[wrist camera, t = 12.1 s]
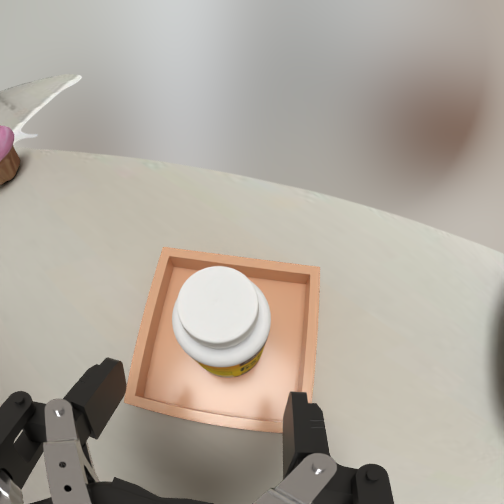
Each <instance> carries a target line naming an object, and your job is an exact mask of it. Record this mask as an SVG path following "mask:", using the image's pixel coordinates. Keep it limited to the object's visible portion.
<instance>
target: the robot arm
mask: <svg viewBox="0 0 504 504" xmlns="http://www.w3.org/2000/svg"><path fill="white" fill-rule="evenodd" d="M125 392H126V380H125V374H124V369H123V364H122V362H121V361H118V360H115V359H111V358H106V359H105V360H104V361H103V362H102V363H101V364H100V365H98V364H96V365H94V366H93V367H91V368H89V369H88V370H87V371H86V372H85V373H84V375H83V376H82V377H81V378H80V379H79V381H78V382H77V383H76V384H75V385H74V386H73V387H72V389H71V390H70V391H69V392H68V393H67V395H66V396H65V397H64V398H63V399H54V400H51V401H49V402H48V403H47V404H43V403H38V402H33V401H32V398H31V396H30V395H29V394H28V393H26V392H23V391H18V392H15V393H13V394H11V395H10V396H9V398H8V399H7V400H6V401H5V402H4V403H3V404H2V406H1V407H0V504H24V502H23V495H22V491H21V489H22V487H23V486H24V484H25V482H26V480H27V479H28V477H29V475H30V473H31V472H32V470H33V468H34V467H35V465H36V463H37V462H38V460H39V458H40V457H41V455H42V453H43V452H44V457H45V464H46V471H47V477H48V482H49V488H50V492H51V498H47V499H44V500H41V501H37V502H34V503H30V504H213V503H207V502H202V501H197V500H192V499H178V498H161V497H158V496H156V495H154V494H152V493H150V492H149V491H147V490H145V489H143V488H141V487H140V486H138V485H135V484H133V483H130V482H127V481H124V480H121V479H118V478H116V477H114V479H113V481H112V482H100V481H99V479H98V477H97V475H96V472H95V469H94V465H93V462H92V458H91V455H90V451H89V447H88V443H87V439H88V437H89V436H90V437H92V438H95V439H98V437H99V436H100V434H101V432H102V431H103V429H104V427H105V426H106V424H107V423H108V421H109V419H110V418H111V416H112V414H113V413H114V411H115V410H116V408H117V406H118V405H119V403H120V401H121V400H122V398H123V397H124V395H125ZM21 430H23V432H22V433H21V434H20V436H19V437H18V439H17V440H16V442H15V443H14V440H15V438H16V437H17V435H18V434H19V433H20V431H21ZM252 504H394V501H393V496H392V491H391V486H390V482H389V477H388V473H387V471H386V470H385V469H384V468H383V467H381V466H379V465H376V464H366V465H364V466H362V467H360V468H359V469H354V468H349V467H344V466H341V465H339V464H337V463H336V462H335V460H334V459H333V458H332V457H331V456H330V453H329V448H328V442H327V436H326V430H325V424H324V418H323V413H322V410H321V409H320V407H319V406H318V405H317V403H308V398H307V393H306V392H293V391H290V393H289V396H288V400H287V404H286V408H285V411H284V416H283V481H282V482H281V483H280V484H279V485H277V486H276V487H275V488H271V489H269V490H268V491H267V492H265V493H264V494H263V495H262V496H261V497H260V498H258V499H257V500H256V501H255V502H254V503H252Z"/></svg>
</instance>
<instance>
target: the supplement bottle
mask: <svg viewBox="0 0 504 504" xmlns="http://www.w3.org/2000/svg"><path fill="white" fill-rule="evenodd" d="M270 325H271V313H270V308H269V305H268V302H267V300H266V298H265V296H264V294H263V293H262V291H261V290H260V289H259V288H258V287H257V286H256V285H255V284H254V283H253V282H251V281H250V280H249V279H248V278H247V277H246V276H245V275H244V274H242V273H241V272H239V271H237V270H235V269H233V268H229V267H224V266H212V267H207V268H204V269H202V270H199V271H198V272H196V273H194V274H193V275H191V276H190V277H189V278H188V279H187V280H186V281H185V283H184V284H183V286H182V288H181V289H180V292H179V294H178V298H177V300H176V302H175V305H174V308H173V313H172V326H173V331H174V334H175V337H176V339H177V341H178V343H179V344H180V346H181V347H182V349H183V350H184V351H185V352H186V353H187V354H188V355H189V356H190V357H191V358H193V359H194V360H195V361H196V362H197V363H198V364H199V365H200V366H202V367H203V368H204V369H205V370H206V371H208V372H209V373H211V374H213V375H216V376H219V377H224V378H232V377H238V376H241V375H243V374H245V373H247V372H248V371H250V370H251V369H252V368H253V367H254V366H255V365H256V364H257V362H258V361H259V359H260V357H261V355H262V352H263V349H264V347H265V344H266V341H267V338H268V335H269V331H270Z"/></svg>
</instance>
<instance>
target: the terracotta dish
mask: <svg viewBox="0 0 504 504" xmlns="http://www.w3.org/2000/svg"><path fill="white" fill-rule="evenodd" d="M212 266H224V267H229V268H233V269H235V270H237V271H239V272H241V273H242V274H244V275H245V276H246V277H247V278H248V279H249V280H250V281H251V282H253V283H254V284H255V285H256V286H257V287H258V288H259V289H260V290H261V291H262V293H263V294H264V296H265V298H266V300H267V302H268V305H269V308H270V313H271V325H270V331H269V335H268V338H267V341H266V344H265V347H264V349H263V352H262V355H261V357H260V359H259V361H258V362H257V364H256V365H255V366H254V367H253V368H252V369H251V370H250V371H248V372H247V373H245V374H243V375H241V376H238V377H232V378H224V377H219V376H216V375H213V374H211V373H209V372H208V371H206V370H205V369H204V368H203V367H202V366H200V365H199V364H198V363H197V362H196V361H195V360H194V359H193V358H191V357H190V356H189V355H188V354H187V353H186V352H185V351H184V350H183V349H182V347H181V346H180V344H179V343H178V341H177V339H176V337H175V334H174V331H173V326H172V313H173V308H174V305H175V302H176V300H177V298H178V294H179V292H180V289H181V288H182V286H183V284H184V283H185V281H186V280H187V279H188V278H189V277H190V276H191V275H193V274H194V273H196V272H198V271H199V270H202V269H204V268H207V267H212ZM319 286H320V267H315V266H307V265H299V264H291V263H283V262H275V261H268V260H260V259H252V258H244V257H236V256H229V255H221V254H213V253H206V252H198V251H191V250H183V249H175V248H168V247H163V249H162V252H161V255H160V258H159V261H158V265H157V268H156V271H155V275H154V278H153V281H152V285H151V288H150V292H149V295H148V299H147V303H146V306H145V310H144V314H143V318H142V321H141V325H140V329H139V333H138V337H137V342H136V346H135V350H134V355H133V359H132V364H131V368H130V373H129V378H128V383H127V388H126V393H125V398H124V403H127V404H130V405H134V406H137V407H140V408H144V409H147V410H151V411H154V412H158V413H162V414H166V415H170V416H174V417H178V418H183V419H187V420H192V421H197V422H202V423H207V424H212V425H218V426H224V427H231V428H238V429H246V430H254V431H264V432H275V433H283V416H284V411H285V408H286V404H287V400H288V396H289V393H290V391H293V392H306V393H307V398H308V403H312V394H313V383H314V372H315V360H316V346H317V331H318V312H319Z"/></svg>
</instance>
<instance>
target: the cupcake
mask: <svg viewBox="0 0 504 504" xmlns="http://www.w3.org/2000/svg"><path fill="white" fill-rule="evenodd" d="M13 142H14V133H13V131H12V130H11V129H10V128H9V127H5V126H0V185H2V184H3V183H4V182H6V181H9V180H11V179H12V178H13V177H14V176H15V174H16V172H17V170H18V167H19V165H20V159H19V157H18V155H17V153H16V151H15V149H14V147H13Z"/></svg>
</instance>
